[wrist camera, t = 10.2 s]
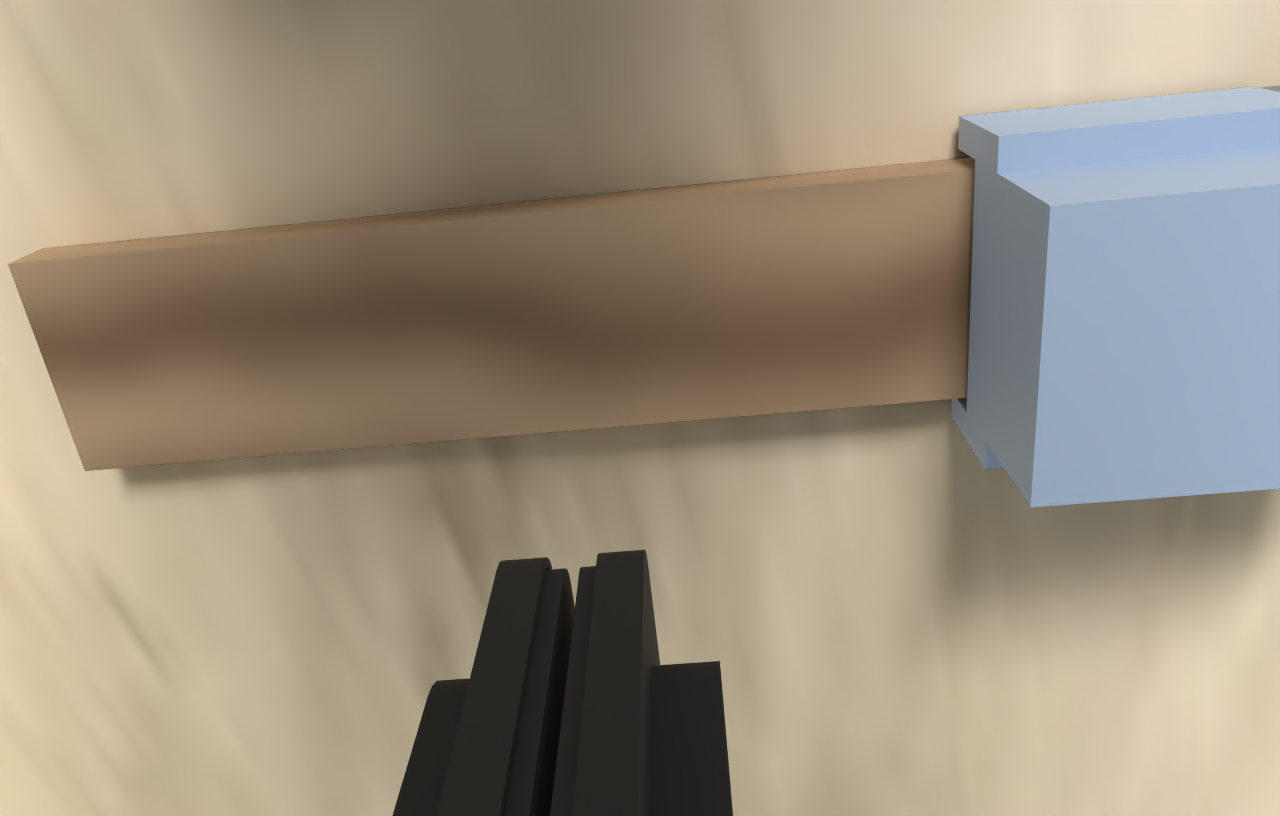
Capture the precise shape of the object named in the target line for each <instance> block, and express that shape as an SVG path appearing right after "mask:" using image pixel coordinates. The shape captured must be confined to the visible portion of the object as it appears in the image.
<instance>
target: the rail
mask: <svg viewBox="0 0 1280 816" xmlns="http://www.w3.org/2000/svg"><path fill="white" fill-rule="evenodd" d="M1262 89H1267V90H1272V91H1277V92H1280V86H1274V87H1264V88H1262ZM974 183H975V159H974V158H972V157H971V158H961V159H950V160H940V161H930V162H920V163H910V164H900V165H890V166H879V167H869V168H859V169H849V170H839V171H829V172H818V173H808V174H798V175H788V176H778V177H768V178H758V179H747V180H737V181H727V182H717V183H707V184H697V185H686V186H676V187H666V188H656V189H646V190H636V191H626V192H615V193H605V194H595V195H585V196H575V197H565V198H555V199H544V200H534V201H524V202H514V203H504V204H494V205H483V206H473V207H463V208H453V209H443V210H433V211H423V212H412V213H402V214H392V215H382V216H372V217H362V218H351V219H341V220H331V221H321V222H311V223H301V224H291V225H280V226H270V227H260V228H250V229H240V230H230V231H219V232H209V233H199V234H189V235H179V236H169V237H159V238H148V239H138V240H128V241H118V242H108V243H98V244H87V245H77V246H67V247H57V248H47V249H41V250H39V251H36V252H34V253H32V254H30V255H27V256H25V257H23V258H21V259H18V260H16V261H14V262H12V263H9V264H8V265H9V268H10V271H11V273H12V276H13V279H14V281H15V284H16V287H17V289H18V292H19V295H20V298H21V300H22V303H23V306H24V308H25V311H26V314H27V316H28V319H29V322H30V324H31V327H32V330H33V332H34V335H35V338H36V341H37V343H38V346H39V349H40V351H41V354H42V357H43V359H44V362H45V365H46V367H47V370H48V373H49V375H50V378H51V381H52V383H53V386H54V389H55V392H56V394H57V397H58V400H59V402H60V405H61V408H62V410H63V413H64V416H65V418H66V421H67V424H68V426H69V429H70V432H71V434H72V437H73V440H74V443H75V445H76V448H77V451H78V453H79V456H80V459H81V461H82V464H83V467H84V469H85V471H89V470H101V469H113V468H125V467H138V466H150V465H162V464H174V463H186V462H198V461H210V460H222V459H234V458H246V457H258V456H270V455H282V454H294V453H306V452H319V451H331V450H343V449H355V448H367V447H379V446H391V445H403V444H415V443H427V442H439V441H451V440H463V439H475V438H487V437H499V436H512V435H524V434H536V433H548V432H560V431H572V430H584V429H596V428H608V427H620V426H632V425H644V424H656V423H668V422H680V421H693V420H705V419H717V418H729V417H741V416H753V415H765V414H777V413H789V412H801V411H813V410H825V409H837V408H849V407H861V406H873V405H886V404H898V403H910V402H922V401H934V400H946V399H958V398H967V390H968V360H969V331H970V301H971V272H972V242H973V212H974Z"/></svg>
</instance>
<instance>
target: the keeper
mask: <svg viewBox="0 0 1280 816" xmlns="http://www.w3.org/2000/svg"><path fill="white" fill-rule="evenodd" d="M958 149H959V150H961V151H962V152H964V153H965V154H967V155H969V156H970V157H972V158H974V159H975V183H974V212H973V242H972V272H971V301H970V331H969V360H968V390H967V398H958V399H951V418H952V419H953V421H954V422H955V424H956V426H957V427H958V429H959V430H960V432H961V433H962V435H963V437H964V438H965V440H966V441H967V443H968V444H969V446H970V448H971V449H972V451H973V452H974V454H975V455H976V457H977V459H978V460H979V462H980V463H981V465H982V466H983V468H984V470H987V469H1000V468H1004V469H1005V470H1006V472H1007V473H1008V475H1009V476H1010V478H1011V479H1012V481H1013V482H1014V484H1015V485H1016V487H1017V488H1018V490H1019V491H1020V493H1021V494H1022V495H1023V497H1024V498H1025V500H1026V501H1027V503H1028V504H1029V506H1030V507H1031V508H1032V507H1045V506H1058V505H1071V504H1085V503H1098V502H1111V501H1124V500H1138V499H1151V498H1164V497H1177V496H1191V495H1204V494H1217V493H1231V492H1244V491H1257V490H1270V489H1280V92H1277V91H1272V90H1267V89H1262V88H1257V87H1242V88H1233V89H1223V90H1213V91H1203V92H1193V93H1183V94H1173V95H1163V96H1154V97H1144V98H1134V99H1124V100H1114V101H1104V102H1094V103H1084V104H1075V105H1065V106H1055V107H1045V108H1035V109H1025V110H1015V111H1005V112H996V113H986V114H976V115H966V116H959V137H958Z"/></svg>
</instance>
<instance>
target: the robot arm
mask: <svg viewBox="0 0 1280 816" xmlns="http://www.w3.org/2000/svg"><path fill="white" fill-rule="evenodd" d="M393 816H733V811H732V799H731V787H730V775H729V763H728V751H727V739H726V727H725V716H724V704H723V693H722V682H721V670H720V661H715V662H701V663H687V664H672V665H660V660H659V651H658V643H657V635H656V627H655V619H654V610H653V602H652V594H651V586H650V578H649V569H648V562H647V555H646V551H645V550H636V551H623V552H610V553H599V554H598V556H597V563H596V566H593V567H581V568H580V572H579V580H578V588H577V596H576V604H575V606H574V600H573V594H572V588H571V582H570V577H569V573H568V570H567V569H554V570H552V566H551V563H550V560H549V559H548V558H547V557H545V558H532V559H519V560H506V561H501V562H499V565H498V568H497V571H496V575H495V579H494V583H493V588H492V592H491V596H490V600H489V604H488V608H487V612H486V616H485V620H484V624H483V628H482V632H481V636H480V640H479V644H478V648H477V652H476V656H475V660H474V664H473V668H472V672H471V676H470V679H457V680H442V681H437V682H436V683H435V684H434V685H433V686H432V688H431V690H430V693H429V695H428V698H427V701H426V705H425V708H424V711H423V715H422V718H421V722H420V725H419V728H418V732H417V735H416V738H415V742H414V745H413V749H412V752H411V755H410V759H409V762H408V765H407V769H406V772H405V776H404V779H403V782H402V786H401V789H400V793H399V796H398V799H397V803H396V806H395V809H394V813H393Z"/></svg>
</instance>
